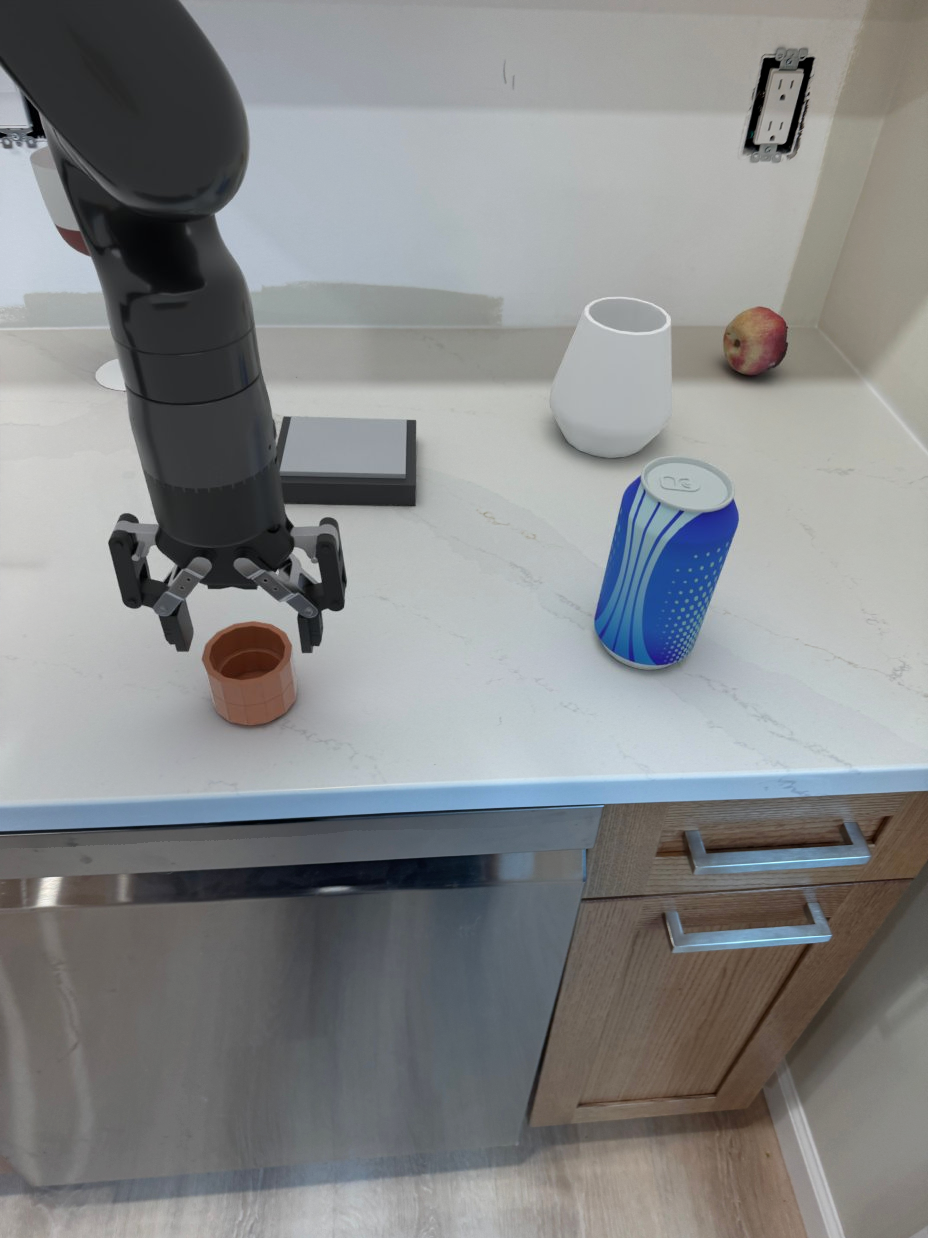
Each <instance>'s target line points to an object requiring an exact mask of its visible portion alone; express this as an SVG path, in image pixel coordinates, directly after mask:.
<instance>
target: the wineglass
mask: <svg viewBox="0 0 928 1238" xmlns="http://www.w3.org/2000/svg"><path fill="white" fill-rule="evenodd" d="M29 161H30V164H31V168H32V171H33V174H34V177H35V181H36V183H37V186H38V188H39V189H38V190H39V192H40V194H41V197H42V200H43V202H44V206H45V207H46V210H47V212H48V215H49V217H50V218H51V221H52V223H53V224H54V226H55V228H56V230H57V231H58V233H59V235H60V236H61V238H62V239H63V241H64V242H65V243H66V244H67V245H68V246H69V247H70V248H72V249H73V250H75V251H77V252H78V253H80V254H82V255H84V256H87V257H90V258H91V256H90V254H89V252H88V249H87V247H86V245H85V242H84V240H83V237H82V235H81V232H80V230H79V227H78V225H77V222H76V220H75V217H74V214H73V212H72V209H71V207H70V204H69V201H68V199H67V196H66V194H65V191H64V188H63V185H62V183H61V180H60V177H59V174H58V172H57V169H56V166H55V163H54V160H53V157H52V154H51V151H50V148H49V145H46V146H44V147H41V148H39V149H37V150H35V151H33V152H32V153H31V154H30V156H29ZM95 380H96V381H97V383H98V384H99V385H101V386H102V387H105V388H106V389H109V390H110V389H111V390H115V391H120V392H121V391H122V392H123V391H124V392H126V388H125V383H124V379H123V376H122V372H121V368H120V364H119V361H118V357H117V358H115V359H111V360H109V361H107V362H105V363H104V364H103V365H101V366H100V367H99V368H98V369H97V370H96V372H95Z"/></svg>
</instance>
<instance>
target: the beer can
mask: <svg viewBox="0 0 928 1238" xmlns="http://www.w3.org/2000/svg"><path fill="white" fill-rule="evenodd" d="M735 486H736V485H735V484H734V482H733V480H732V478H731V477H730V475H728V474H727V473H726V471H724V470H723V469H721V468H720V467H718V466H716V465H715V464H713V463H711V462H709V461H706V460H703V459H699V458H697V457H693V456H686V455H667V456H661V457H657V458H655V459H653V460H651V461H649V462H648V463H646V464H645V466H644V467H643V468H642V470H641V473H640V475H639V476H638V477H637V478H636V479H634V480H633V481H632V482H631V483H630V484H629V485H628V486H627V488H625V490H624V492H623V494H622V497H621V502H620V506H619V510H618V515H617V519H616V523H615V527H614V532H613V536H612V541H611V544H610V549H609V554H608V557H607V561H606V566H605V571H604V575H603V579H602V583H601V588H600V593H599V595H598V601H597V605H596V609H595V613H594V619H593V626H594V627H593V628H594V631H595V634H596V636H597V637H598V639H599V641H600V643H602V646H603V647H604V649H605V650H606V652H607V653H608V654H609V655H610V656H611V657H613V658H614V659H615V660H617V661H618V662H620V663H622V664H623V665H626V666H628V667H632V668H634V669H639V670H647V671H648V670H649V671H653V670H654V671H655V670H660V669H661V670H662V669H665V668H667V667H669V666H672V665H673V664H676V663H679V662H680V661H682V660H684V659H685V658H687V657H688V656H689V655H690V654H691V652H692V651H693V649H694V648H695V644H696V642H697V639H698V637H699V634H700V631H701V628H702V626H703V623H704V621H705V618H706V615H707V611H708V609H709V606H710V603H711V601H712V598H713V595H714V592H715V590H716V588H717V584H718V583H719V582H718V581H719V579H720V577H721V574H722V571H723V568H724V565H725V562H726V560H727V557H728V554H729V551H730V549H731V546H732V543H733V540H734V537H735V534H736V532H737V529H738V526H739V522H740V516H739V515H740V514H739V509H738V506H737V504H736V501H735V494H736V488H735Z"/></svg>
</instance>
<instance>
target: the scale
mask: <svg viewBox="0 0 928 1238" xmlns="http://www.w3.org/2000/svg"><path fill="white" fill-rule="evenodd" d="M276 447H277V454H278V462H279V469H280V477H281V484H282V492H283V499H284V504H298V505H299V504H301V505H302V504H305V505H347V506H348V505H351V506H353V505H355V506H399V507H401V506H402V507H403V506H405V507H407V506H408V507H416V502H417V501H416V500H417V499H416V498H417V420H416V419H404V418H403V419H402V418H400V419H399V418H370V417H369V418H367V417H365V418H364V417H362V418H361V417H332V416H331V417H329V416H328V417H327V416H324V417H323V416H289V415H287V416H286V415H284V416H283V417H282V420H281V426H280V430H279V434H278V439H277V442H276Z"/></svg>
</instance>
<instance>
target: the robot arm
mask: <svg viewBox="0 0 928 1238" xmlns="http://www.w3.org/2000/svg"><path fill="white" fill-rule="evenodd" d="M0 68H1V69H2V70H3V72H4V73H5V74H6V75H7V76H8V77H9V78H10V80H11V81H12V83H14V85H15V86H16V87H17V88H18V89H19V90H20V91H21V93H22V94H23V95H24V96H25V98H26V99H27V100H28V101H29V102H30V103H31V105H32V106H33V107H34V109H36V110H37V112H38V113H39V117H40V120H41V124H42V128H43V131H44V135H45V138H46V142H47V146H49V148H50V151H51V154H52V157H53V160H54V163H55V166H56V169H57V172H58V174H59V177H60V180H61V183H62V185H63V188H64V191H65V194H66V196H67V199H68V201H69V204H70V207H71V209H72V212H73V214H74V217H75V220H76V222H77V225H78V227H79V230H80V232H81V235H82V237H83V240H84V242H85V245H86V247H87V249H88V252H89V254H90V256H91V257H90V256H89V257H90V258H91V261H92V264H93V267H94V269H95V272H96V275H97V278H98V281H99V284H100V288H101V292H102V295H103V296H102V297H103V300H104V305H105V311H106V316H107V320H108V326H109V329H110V330H109V331H110V335H111V338H112V341H113V346H114V349H115V352H116V357H117V358H118V361H119V364H120V368H121V372H122V376H123V379H124V383H125V388H126V391H125V392H126V401H127V411H128V412H127V413H128V418H129V424H130V428H131V432H132V435H133V440H134V443H135V446H136V450H137V453H138V457H139V461H140V465H141V468H142V469H141V470H142V472H143V476H144V479H145V484H146V487H147V491H148V494H149V498H150V502H151V506H152V510H153V514H154V516H155V521H156V523H157V524H156V523H155V524H154V523H140V521H139V519H138V517H137V516H136V515H134V514H133V513H129V512H125V513H122V514H120V515H119V516H118V519H117V520H116V523H115V526H114V528H113V530H112V533H111V535H110V537H109V539H108V541H107V544H108V548H109V553H110V557H111V560H112V565H113V568H114V572H115V576H116V580H117V584H118V589H119V592H120V596H121V600H122V603H123V605H124V606H125V607H127V608H129V609H133V610H136V609H140V608H141V607H142V606H143V607H147V608H150V609H152V610H153V613H155V614H156V615H157V616H158V619H159V622H160V626H161V628H162V632H163V636H164V640H165V641H166V642H167V643H168V644H169V645H173V646H175V650H176V652H178V653H189V651H190V649H191V645H192V643H193V639H194V633H195V632H194V631H195V630H194V626H193V622H192V618H191V614H190V610H189V606H188V603H187V598H189V597H188V596H189V595H190V594H191V593H192V592H193V590H194V589H195V588H196V587H197V586H198V584H201V585H203V586H206V587H207V589H208V590H224V589H229V588H235V589H240V590H247V591H248V590H249V591H253V590H254V591H257V590H258V587H260V588H261V589H262V590H264V591H265V592H266V593H267V594H268V595H270V597H272V598H273V599H274V600H276V601H277V602H278V603H282V602H285V603H286V604H288V605H289V606H290V607H291V608H292V609H293V610H295V611H296V612H297V617H296V620H297V627H298V634H299V643H300V650H301V654H313V651H314V647H320V645H321V643H322V640H323V633H324V622H323V621H324V620H323V619H324V618H323V611H325V610H329V611H332V612H341V611H342V610H344V608H345V604H346V598H345V597H346V589H347V586H348V578H347V577H348V576H347V571H346V565H345V557H344V553H343V552H344V551H343V545H342V538H341V533H340V527H339V522H338V521H337V520H336V519H335V518H333V517H331V516H325V517H323V518H321V519H320V521H319V524H318V525H315V526H314V525H312V526H311V525H310V526H295V525H294V524H293V523H292V521H291V520H290V518H289V517H288V515H287V513H286V508H285V507H286V506H285V503H284V499H283V492H282V484H281V477H280V469H279V462H278V454H277V437H278V434H277V427H276V421H275V419H274V417H273V411H272V405H271V401H270V396H269V393H268V389H267V386H266V385H267V384H266V382H265V378H264V375H263V370H262V365H261V357H260V351H259V343H258V336H257V329H256V323H255V313H254V308H253V303H252V297H251V292H250V288H249V285H248V282H247V280H246V276H245V274H244V272H243V271H242V270H243V269H241V266H240V265H239V263H238V261H237V260H236V259H235V257H234V256H233V254H232V253H231V251H230V249H229V248H228V246H227V245H226V243H225V241H224V239H223V237H222V234H221V231H220V229H219V226H218V222H217V218H216V214H217V213H218V212H220V211H221V210H223V209H224V208H225V207H226V206H227V205H228V204H229V203H230V202H231V201H232V200H233V199H234V197H235V196H236V195H237V193H238V192H239V190H240V188H241V186H242V184H243V182H244V179H245V177H246V174H247V171H248V167H249V160H250V153H251V137H250V127H249V120H248V116H247V112H246V108H245V105H244V102H243V99H242V96H241V94H240V91H239V89H238V87H237V84H236V82H235V81H234V78H233V76H232V74H231V73H230V70H229V69H228V68H227V66H226V64H225V62H224V61H223V59H222V57H221V56H220V54H219V52H218V51H217V50H216V48H215V46H214V44H213V43H212V42H211V40H210V39H209V38H208V37H207V34H206V33H205V32H204V30H203V29H202V28H201V27H200V25H199V24H198V23H197V21H196V20H195V18H194V17H193V16H192V15H191V13H190V12H189V11H188V9H187V8H186V7H185V5H184V4H183V2H182V1H181V0H0ZM153 546H156V548H157V549H158V551H159V552H160V553H162V554H163V556H165V558H167V559H169V560H170V561H171V562H172V563H173V564H174V565H173V566H172V568H171V569H170V570H169V572H168V573H167V575H166V576H165V577H164V578H163V579H162V580H157V579H153V578H152V576H151V572H150V568H149V563H148V557H147V556H148V555H149V552H150V550H151V547H153ZM295 548H298V549H301V550H303V551H304V553H305V555H306V557H307V558H308V559H310V562H311V563H312V564H315V565H316V564H318V568H319V574H320V579H321V582H318V580H316V579H315V578H314V577H313V576H312V575H310V574H309V572H307V570H305V569H304V568H303V566H302V563H301V560H300V559H299V558H298V557H297V556H296V555H295V554H294V553H293V551H294V550H295ZM277 571H278V574H277V573H276V572H277Z"/></svg>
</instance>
